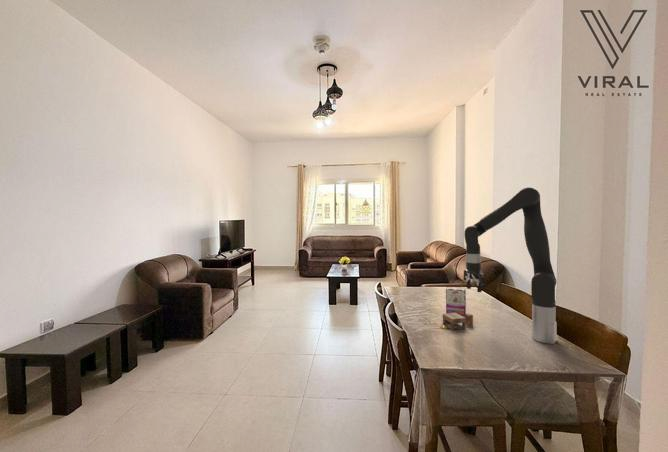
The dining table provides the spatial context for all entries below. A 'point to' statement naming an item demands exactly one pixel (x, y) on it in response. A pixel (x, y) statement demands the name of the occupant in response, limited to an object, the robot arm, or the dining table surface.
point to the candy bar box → (456, 301)
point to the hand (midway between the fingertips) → (474, 290)
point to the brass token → (444, 326)
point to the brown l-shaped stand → (468, 321)
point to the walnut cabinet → (454, 319)
